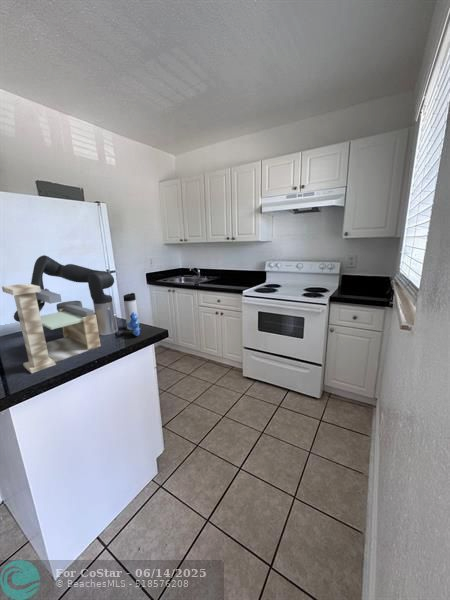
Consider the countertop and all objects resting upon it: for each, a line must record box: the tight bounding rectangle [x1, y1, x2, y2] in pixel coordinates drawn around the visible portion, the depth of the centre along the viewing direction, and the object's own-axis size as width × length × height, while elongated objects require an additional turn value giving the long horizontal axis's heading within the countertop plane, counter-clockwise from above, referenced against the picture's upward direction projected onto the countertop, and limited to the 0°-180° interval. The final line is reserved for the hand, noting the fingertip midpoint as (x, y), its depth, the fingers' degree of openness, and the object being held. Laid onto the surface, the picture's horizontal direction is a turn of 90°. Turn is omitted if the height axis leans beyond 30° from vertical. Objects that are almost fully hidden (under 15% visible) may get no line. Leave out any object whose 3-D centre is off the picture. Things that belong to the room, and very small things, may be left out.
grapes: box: [126, 312, 141, 337], centre depth 125 cm, size 12×7×12 cm, turn 30°
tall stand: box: [1, 283, 57, 374], centre depth 94 cm, size 8×14×32 cm, turn 54°
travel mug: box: [122, 292, 139, 331], centre depth 135 cm, size 6×7×20 cm
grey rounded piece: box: [56, 300, 83, 312], centre depth 138 cm, size 13×13×15 cm
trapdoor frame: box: [46, 308, 102, 363], centre depth 112 cm, size 18×27×16 cm
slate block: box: [36, 289, 63, 304], centre depth 104 cm, size 4×24×3 cm, turn 54°
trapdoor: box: [40, 304, 95, 331], centre depth 111 cm, size 17×24×4 cm
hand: (40, 291), depth 106 cm, fingers closed on slate block, 4 cm apart
